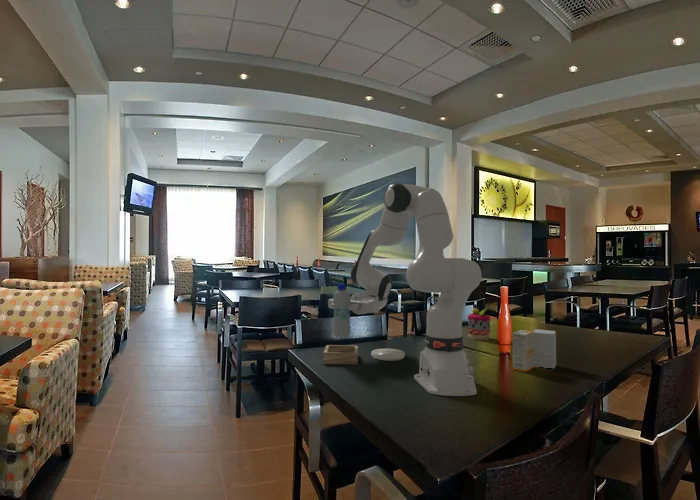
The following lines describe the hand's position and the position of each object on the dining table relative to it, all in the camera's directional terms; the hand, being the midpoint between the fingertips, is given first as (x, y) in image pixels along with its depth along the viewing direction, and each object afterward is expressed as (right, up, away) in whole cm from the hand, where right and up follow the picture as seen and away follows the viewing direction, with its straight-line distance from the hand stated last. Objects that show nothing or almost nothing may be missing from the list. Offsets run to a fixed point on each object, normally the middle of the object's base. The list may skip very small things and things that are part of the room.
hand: (340, 306), depth 151 cm
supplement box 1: (+65, -21, -9) cm, 69 cm away
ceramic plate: (+18, -20, +6) cm, 28 cm away
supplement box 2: (+74, -21, -5) cm, 77 cm away
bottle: (+1, -12, +1) cm, 12 cm away
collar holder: (0, -20, +1) cm, 20 cm away
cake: (+65, -21, +42) cm, 81 cm away
